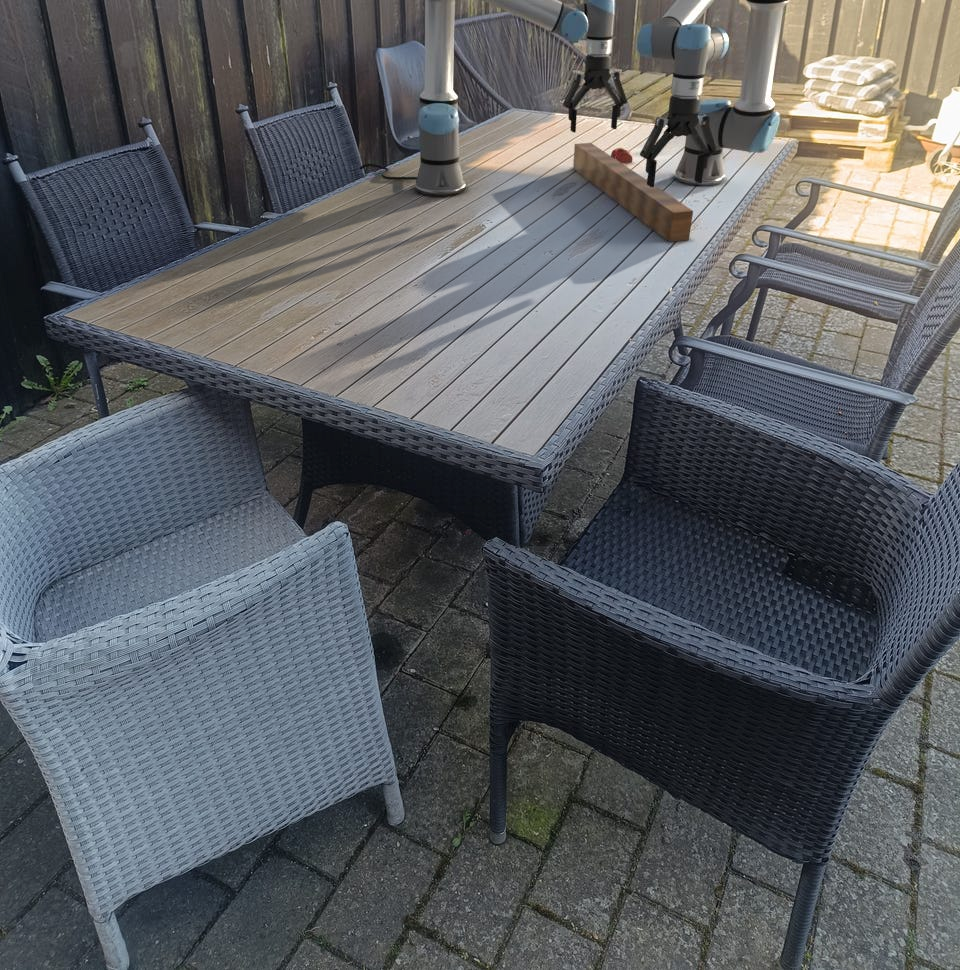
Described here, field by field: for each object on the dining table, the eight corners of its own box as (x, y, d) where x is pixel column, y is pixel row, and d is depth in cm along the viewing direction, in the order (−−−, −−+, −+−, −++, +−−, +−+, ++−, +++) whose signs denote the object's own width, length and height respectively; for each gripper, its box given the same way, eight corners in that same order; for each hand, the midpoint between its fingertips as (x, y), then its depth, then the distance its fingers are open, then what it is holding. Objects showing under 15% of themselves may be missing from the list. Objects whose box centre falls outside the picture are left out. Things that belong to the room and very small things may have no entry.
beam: (573, 168, 278) (574, 143, 273) (589, 167, 279) (590, 142, 275) (669, 242, 221) (673, 212, 216) (689, 240, 222) (693, 210, 218)
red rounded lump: (625, 144, 285) (634, 150, 279) (624, 157, 288) (633, 163, 282) (609, 146, 284) (618, 152, 278) (609, 159, 287) (617, 165, 281)
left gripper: (563, 59, 246) (559, 135, 258) (642, 54, 251) (635, 129, 263) (554, 54, 252) (551, 129, 264) (632, 50, 257) (625, 124, 269)
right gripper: (645, 101, 201) (635, 191, 214) (739, 95, 207) (724, 184, 219) (632, 95, 207) (624, 183, 220) (724, 90, 213) (710, 176, 225)
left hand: (593, 130), depth 264 cm, fingers open, 13 cm apart
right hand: (674, 183), depth 219 cm, fingers open, 13 cm apart
